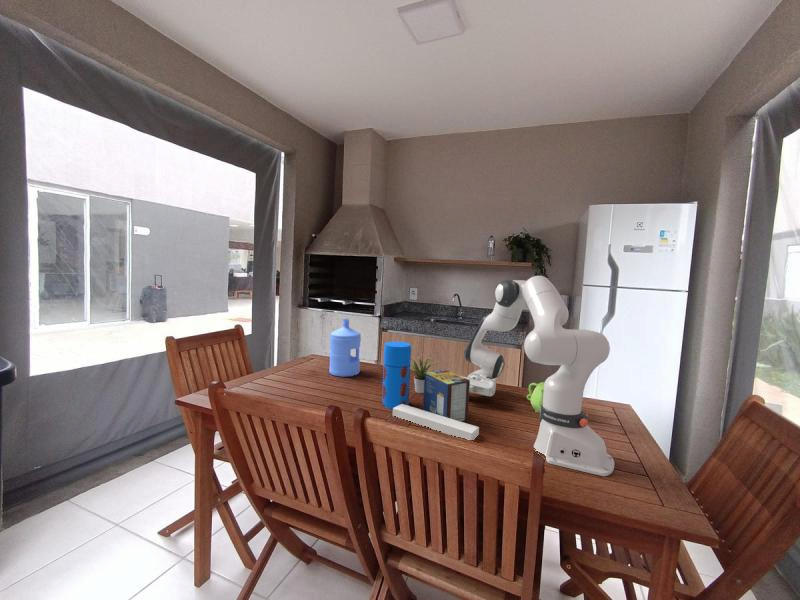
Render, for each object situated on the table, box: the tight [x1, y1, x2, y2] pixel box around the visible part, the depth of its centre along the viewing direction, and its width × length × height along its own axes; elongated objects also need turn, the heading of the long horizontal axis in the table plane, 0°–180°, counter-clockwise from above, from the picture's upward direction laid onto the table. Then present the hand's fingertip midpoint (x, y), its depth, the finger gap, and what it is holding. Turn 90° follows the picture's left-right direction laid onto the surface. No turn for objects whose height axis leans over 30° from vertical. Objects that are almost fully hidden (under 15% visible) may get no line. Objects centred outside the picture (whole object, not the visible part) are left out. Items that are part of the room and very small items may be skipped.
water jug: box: [329, 318, 362, 378], centre depth 189 cm, size 16×16×28 cm
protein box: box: [422, 369, 470, 423], centre depth 139 cm, size 10×15×16 cm
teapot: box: [526, 381, 545, 414], centre depth 147 cm, size 16×14×13 cm
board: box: [392, 404, 480, 441], centre depth 131 cm, size 32×6×3 cm, turn 55°
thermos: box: [382, 341, 412, 410], centre depth 148 cm, size 11×11×25 cm
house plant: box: [410, 356, 438, 394], centre depth 166 cm, size 14×14×16 cm
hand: (463, 390), depth 150 cm, fingers closed
